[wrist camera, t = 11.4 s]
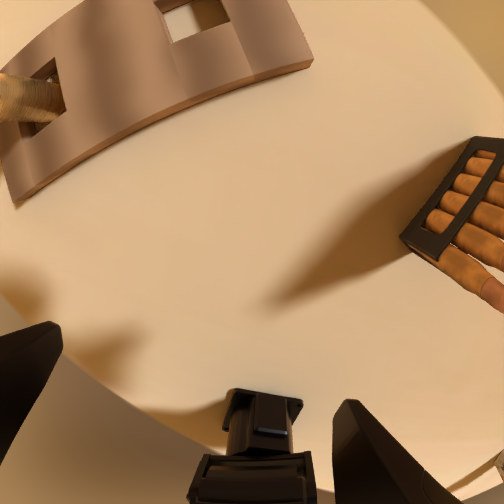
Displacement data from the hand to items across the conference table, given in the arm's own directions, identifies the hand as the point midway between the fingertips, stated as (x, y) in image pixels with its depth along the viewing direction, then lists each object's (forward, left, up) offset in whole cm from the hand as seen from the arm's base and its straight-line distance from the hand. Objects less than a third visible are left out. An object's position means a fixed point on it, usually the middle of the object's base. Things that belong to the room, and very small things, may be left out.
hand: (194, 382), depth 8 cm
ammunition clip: (+8, -14, -13) cm, 21 cm away
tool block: (+11, +12, -13) cm, 21 cm away
